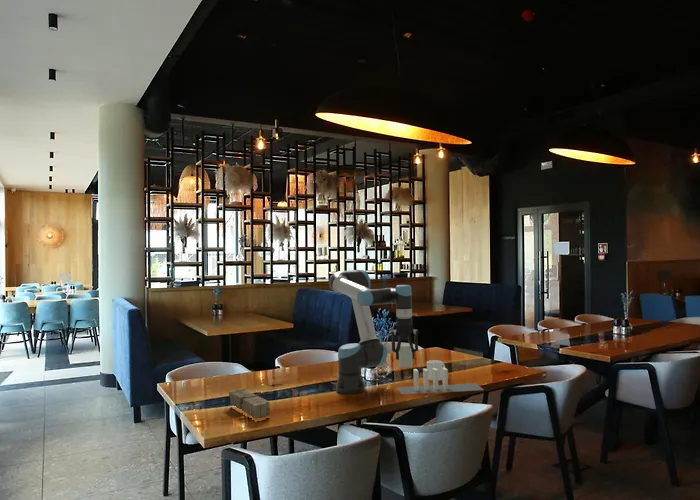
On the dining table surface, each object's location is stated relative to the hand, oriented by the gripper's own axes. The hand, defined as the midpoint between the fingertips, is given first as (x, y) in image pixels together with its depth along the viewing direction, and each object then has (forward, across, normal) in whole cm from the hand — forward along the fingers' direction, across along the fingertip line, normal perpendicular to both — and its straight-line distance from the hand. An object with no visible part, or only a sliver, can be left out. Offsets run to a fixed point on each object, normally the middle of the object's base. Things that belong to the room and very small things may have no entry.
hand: (405, 366), depth 256 cm
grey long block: (+17, -73, -7) cm, 76 cm away
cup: (+17, +24, +37) cm, 47 cm away
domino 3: (+16, +13, +16) cm, 26 cm away
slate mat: (+16, +20, +16) cm, 30 cm away
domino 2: (+16, +8, +16) cm, 24 cm away
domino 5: (+16, +23, +16) cm, 32 cm away
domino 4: (+16, +18, +16) cm, 29 cm away
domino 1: (0, 0, 0) cm, 0 cm away
